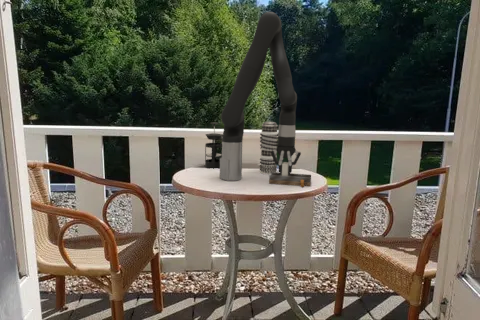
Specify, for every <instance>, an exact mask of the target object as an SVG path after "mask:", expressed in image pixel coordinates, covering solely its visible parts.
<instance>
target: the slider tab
mask: <svg viewBox="0 0 480 320" xmlns="http://www.w3.org/2000/svg"><path fill="white" fill-rule="evenodd" d="M288 167H289V161H288V162H287V161H282V175H280V176H290V175H288Z"/></svg>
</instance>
